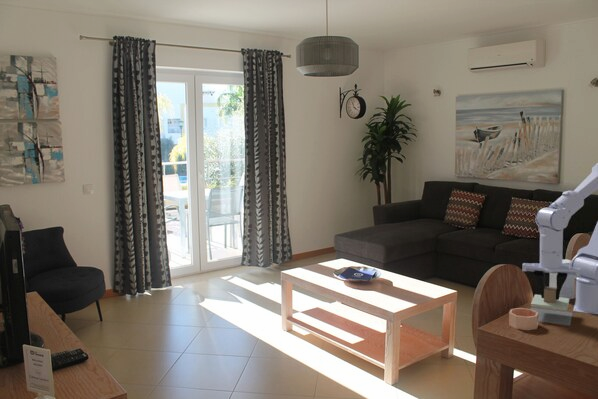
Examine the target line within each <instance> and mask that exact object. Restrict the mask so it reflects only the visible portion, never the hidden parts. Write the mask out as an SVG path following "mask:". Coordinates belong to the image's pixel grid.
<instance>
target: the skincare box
mask: <svg viewBox="0 0 598 399" xmlns="http://www.w3.org/2000/svg"><path fill="white" fill-rule="evenodd" d="M571 261H572V260H571V259H566V258H565V259H562V265H564V266H570V264H571ZM556 277H557V274H556V273H549V284H548V285H549V286H548V287H555V288H557V280H556ZM575 294H576V280H575V278H574V275H567V278H566V280H565V282H564V284H563V286H562V288H561V291H560V295H559V297H563V298H569V300H571V299H575Z"/></svg>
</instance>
